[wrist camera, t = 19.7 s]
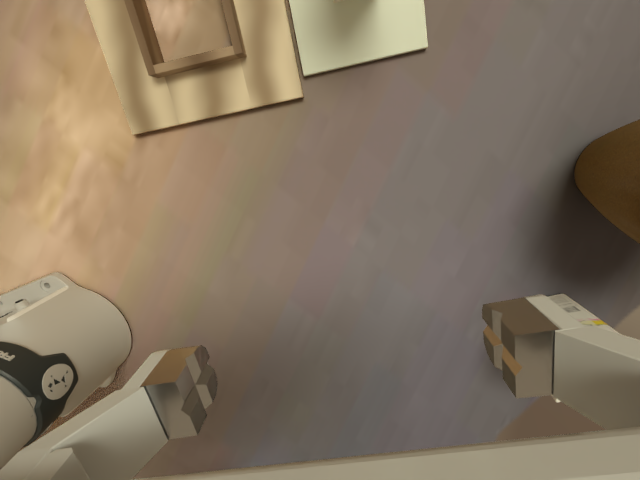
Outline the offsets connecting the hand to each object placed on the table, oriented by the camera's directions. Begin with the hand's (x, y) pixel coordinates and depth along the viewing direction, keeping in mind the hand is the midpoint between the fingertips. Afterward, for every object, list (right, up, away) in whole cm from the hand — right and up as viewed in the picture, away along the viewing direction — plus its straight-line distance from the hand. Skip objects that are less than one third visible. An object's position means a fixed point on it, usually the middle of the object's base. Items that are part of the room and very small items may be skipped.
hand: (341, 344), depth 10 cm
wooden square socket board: (-14, +26, +25) cm, 39 cm away
